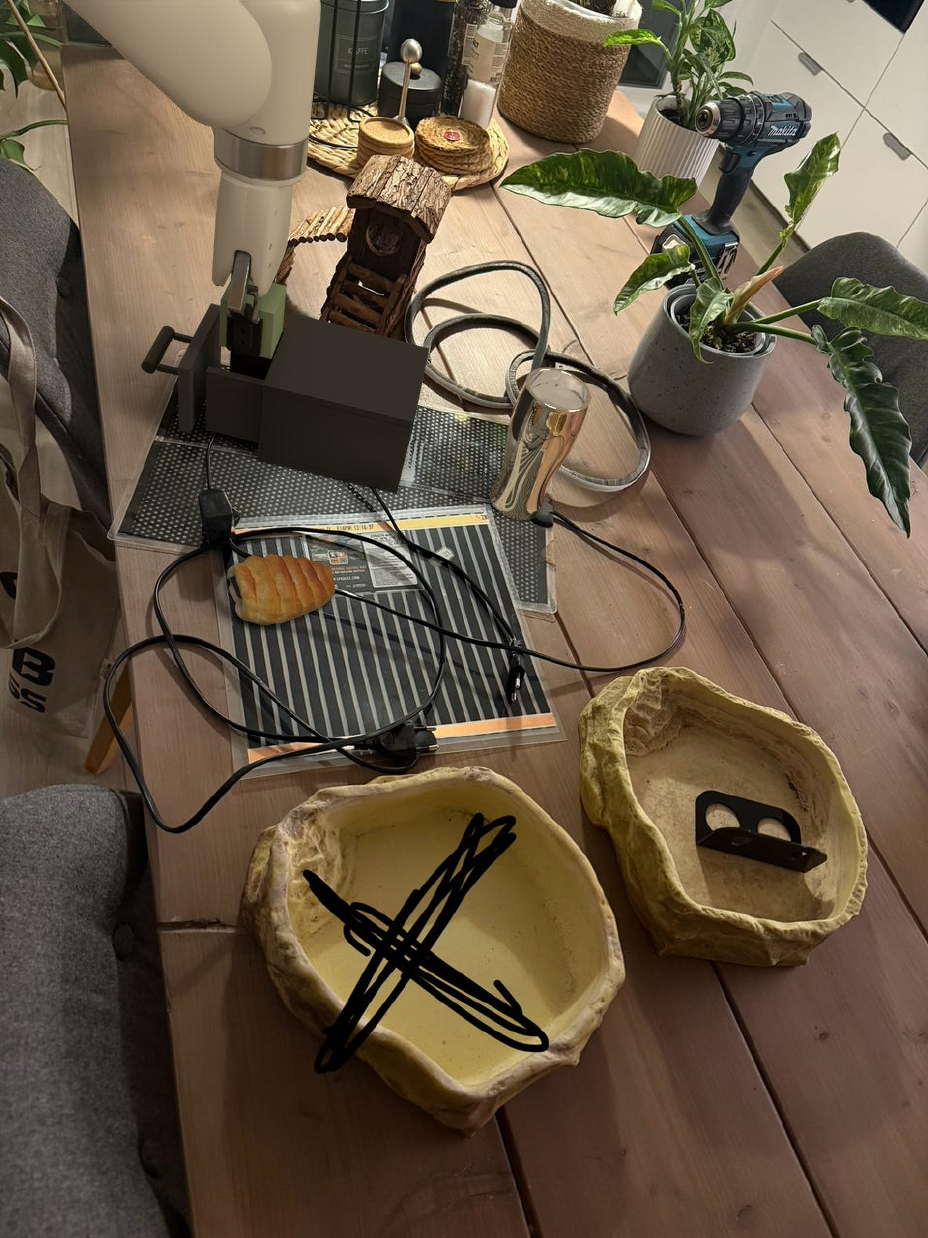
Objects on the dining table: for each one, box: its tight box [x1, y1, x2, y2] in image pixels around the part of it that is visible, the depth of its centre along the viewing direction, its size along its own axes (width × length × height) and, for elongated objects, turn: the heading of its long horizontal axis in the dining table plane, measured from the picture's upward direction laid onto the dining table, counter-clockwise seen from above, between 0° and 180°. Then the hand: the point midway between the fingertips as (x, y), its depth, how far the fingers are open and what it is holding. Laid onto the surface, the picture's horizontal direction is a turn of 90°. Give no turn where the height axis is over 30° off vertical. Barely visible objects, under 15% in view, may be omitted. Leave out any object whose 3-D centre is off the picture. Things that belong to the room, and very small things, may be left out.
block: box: [219, 280, 287, 359], centre depth 84 cm, size 5×5×5 cm
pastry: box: [226, 553, 336, 626], centre depth 78 cm, size 9×7×4 cm
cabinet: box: [257, 312, 430, 494], centre depth 91 cm, size 15×13×10 cm
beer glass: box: [488, 367, 592, 521], centre depth 90 cm, size 7×7×15 cm
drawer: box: [140, 302, 286, 444], centre depth 90 cm, size 18×11×8 cm, turn 84°
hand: (250, 334), depth 86 cm, fingers closed on block, 5 cm apart
